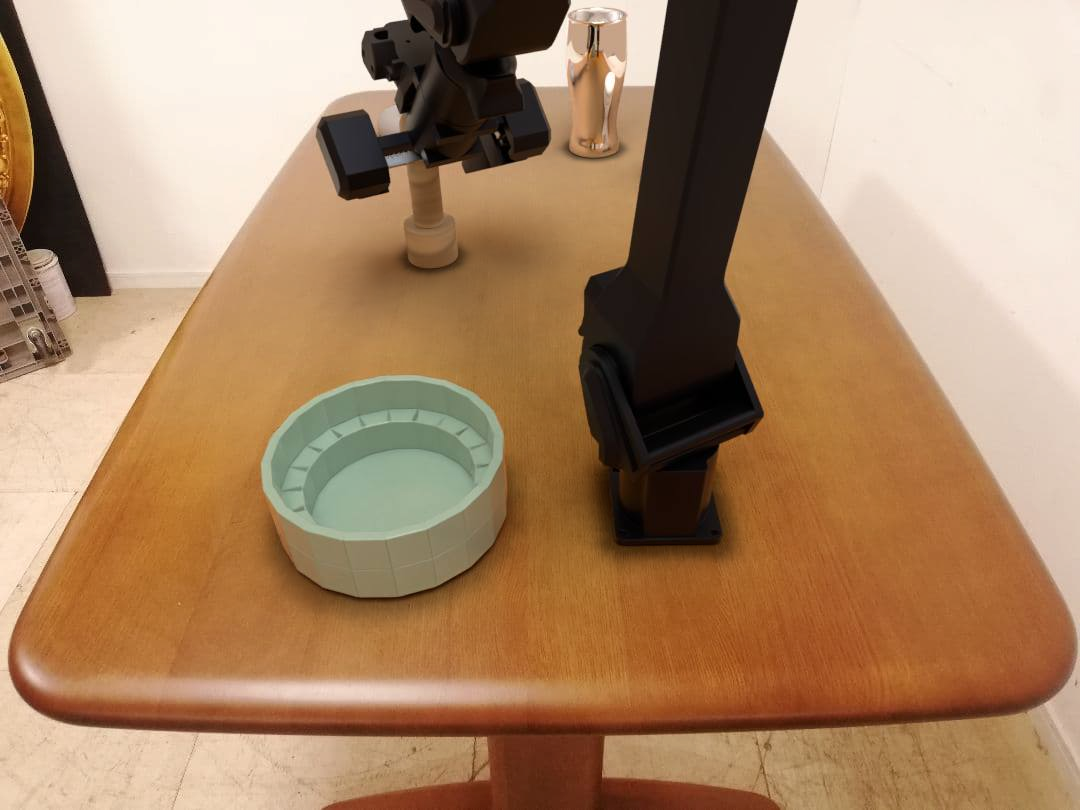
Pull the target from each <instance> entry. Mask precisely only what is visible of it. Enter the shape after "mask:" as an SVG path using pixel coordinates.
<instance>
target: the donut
mask: <svg viewBox="0 0 1080 810" xmlns="http://www.w3.org/2000/svg"><path fill="white" fill-rule="evenodd" d="M401 116H402V114H399V111H398V109H397V106H396V103H394V104H392V105H390V106H388V107H386V108H384V109H383V110H382V112H380V114H379V115H378V118H377V125H376V126H377V127H376V128H377V131H378V133H379V135H380V136H385V135H390V134H395V133H399V132H400V129H399V121H400V118H401Z"/></svg>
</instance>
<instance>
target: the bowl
mask: <svg viewBox="0 0 1080 810" xmlns="http://www.w3.org/2000/svg"><path fill="white" fill-rule="evenodd" d="M505 443H506V442H505V433H504V430H503V429H502V426H501V424H500V422H499V420H498V417H497V415H496V413H495V411H494V409H493V408H491V407H490V406H489V404H488V403H486V402H485V401H484V400H483V399H482V398H481V397H480V396H479V395H477V394H476V393H475V392H473V391H471V390H469V389H467V388H465V387H463V386H461V385H458V384H456V383H454V382H451V381H449V380H447V379H441V378H436V377H430V376H425V375H420V374H391V375H390V374H389V375H388V374H387V375H378V376H374V377H369V378H365V379H359V380H355V381H350V382H347V383H345V384H343V385H340V386H337V387H335V388H333V389H330V390H327V391H325V392H323V393H320V394H318V395H316V396H315V397H313V398H312V399H310V400H309V401H307V402H306V403H304V404H303V405H302V406H300V407H298V408H296V410H294V411H293V412H291V413H290V414H289V415H288V416H287V418H285V420H284V421H283V422H282V424H281V425H280V426H279V427H278V428H277V429H276V430H275V432H273V434H272V435H271V437H269V441H268V443H267V445H266V448H265V451H264V453H263V456H262V458H261V461H260V474H261V475H260V476H261V486H262V487H261V488H262V491H263V494H264V497H265V500H266V503H267V506H268V509H269V511H270V515H271V517H272V520H273V523H274V526H275V529H276V532H277V535H278V537H279V540H280V543H281V546H282V548H283V550H284V551H285V552H286V554H287V556H288V558H289V559H290V561H291V563H292V564H293V566H294V567H295V569H296V570H297V571H298V572H300V573H301V574H302V575H304V576H305V577H307V578H309V579H310V580H311V581H313V582H314V583H315V584H316V585H318V586H320V587H321V588H324V589H325V590H330V591H334V592H337V593H341V594H344V595H349V596H352V597H355V598H398V597H404V596H407V595H411V594H414V593H418V592H422V591H425V590H426V591H427V590H429V589H433V588H436V587H438V586H441V585H443V584H445V582H447V581H449V580H450V579H453V578H454V577H456V576H458V575H459V574H461V573H463V572H465V571H466V570H469V569H470V568H472V566H473V565H474V564H475V563H477V562H478V560H480V558H481V557H482V556H483V555H484V554H485V553H486V552H487V551H488V550H489V549H490V548H491V547H492V546H493V545H494V543H495V541H496V539H497V538H498V535H499V532H500V530H501V529H502V526H503V524H504V522H505V520H506V518H507V515H508V478H507V475H508V474H507V463H506V462H507V461H506V444H505Z"/></svg>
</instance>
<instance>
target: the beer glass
mask: <svg viewBox="0 0 1080 810" xmlns="http://www.w3.org/2000/svg"><path fill="white" fill-rule="evenodd" d="M565 36H566V37H565V71H566V80H567V87H568V93H569V98H570V106H571V113H572V114H571V115H572V122H571V123H572V125H571V132H570V136H569V142H568V149H569V151H570V152H571V153H572V154H574V155H576V156H579V157H583V158H589V159H590V158H592V159H594V158H595V159H599V158H607V157H610V156H612V155H614V154H616V153H617V152H618V151H619V149H620V142H619V134H618V133H619V132H618V112H619V106H620V101H621V97H622V93H623V87H624V83H625V78H626V70H627V64H628V63H627V62H628V47H629V45H628V44H629V43H628V42H629V41H628V14H627V12H626V11H624V10H621V9H618V8H614V7H606V6H605V7H604V6H603V7H601V6H598V7H597V6H596V7H595V6H594V7H593V6H592V7H583V8H577V9H574V10H572V11H569V12H568V13H567V26H566V35H565Z"/></svg>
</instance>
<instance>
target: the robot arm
mask: <svg viewBox="0 0 1080 810" xmlns="http://www.w3.org/2000/svg"><path fill="white" fill-rule="evenodd" d="M400 2H401V5H402V7H403V11H404V13H405V16H406V18H407V19H401V20H395V21H390V22H387V23H385V24H384V25H383V26H379V27H373V28H372V29H370V30H365V31H364V34H363V37H362V39H361V44H360V45H361V47H360V48H361V49H360V50H361V51H360V52H361V60H362V62H363V65H364V67H365V68H366V71H367V72H368V74H369V76H370V78H371V79H372V80H373V81H380V80H386V81H387V82H388V83H391V82H393V83H394V85H395V86H396V88H397V89H396V93H395V96H394V100H393V101H394V104H396V106H397V109H398V111H399V114H404V113H405V114H406V116H407V120H406V131H404V132H399V133H395V134H390V135H385V136H381V135H380V136H377V132H376V130H375V127H374V125H373V122H372V119H371V115H370V114H369V113H368V112H367V111H366V110H365V109H364V108H361V109H356V110H351V111H345V112H340V113H335V114H330V115H325V116H321V117H320V119H319V122H318V123H317V126H316V131H315V139H316V141H317V144H318V147H319V149H320V152H321V154H322V157H323V160H324V162H325V165H326V169H327V170H328V174H329V176H330V178H331V181H332V184H333V186H334V190H335V191H336V195H337V196H338V197H339V198H341V199H342V200H345V201H346V202H349V201H353V200H363V199H368V198H372V197H376V196H380V195H384V194H389V193H390V189H389V188H390V185H391V183H392V182H391V174H390V169H394V168H398V167H402V166H407V164H412V163H416V162H421V161H424V164H425V166H426V169H429V168H434V167H438V166H439V167H442V166H446V165H450V164H451V165H452V164H455V163H459V162H461V167H462V170H463V172H464V174H466V175H467V174H471V173H476V172H481V171H484V170H488V169H489V170H490V169H494V168H498V167H501V166H506V165H511V164H514V163H518V162H522V161H527V160H528V159H529V158H533V157H538V156H542V155H543V153H544V152H545V151H546V150H547V148H548V147H549V146H550V143H551V141H552V128H551V126H550V123H549V120H548V118H547V115H546V113H545V110H544V107H543V105H542V102H541V99H540V95H539V93H538V91H537V89H536V87H535V85H534V84H533V83H532V82H531V81H530V80H527V79H526V78H524V77H521V78H518V77H517V74H516V72H517V69H518V60H517V57H516V56H520V55H527V54H533V53H537V52H543V51H547V50H549V49H550V48H551V47H552V46H553V45H554V43H555V41H556V39H557V37H558V35H559V32H560V30H561V28H562V25H563V24H564V21H565V19H566V17H567V16H568V13H569V10H570V8H571V5H572V0H400ZM798 2H799V0H667V3H666V9H665V16H664V22H663V27H662V28H663V29H662V35H661V41H660V48H659V55H658V61H657V68H656V74H655V81H654V88H653V93H652V101H651V107H650V112H649V120H648V127H647V132H646V140H645V144H644V145H645V146H644V153H643V158H642V159H643V160H642V167H641V171H640V178H639V186H638V191H637V198H636V203H635V204H636V205H635V212H634V218H633V225H632V230H631V237H630V244H629V250H628V256H627V260H626V262H625V264H624V265H623V266H619V267H615V268H613V269H609V270H605V271H602V272H600V273H596V274H593V275H591V276H589V278H588V280H587V282H586V285H585V286H584V290H583V316H582V321H581V324H580V326H579V328H578V330H577V334H578V336H580V337H582V343H581V352H580V355H579V359H578V365H577V369H578V374H579V380H580V386H581V392H582V396H583V398H582V399H583V403H584V410H585V415H586V420H587V425H588V428H589V432H590V435H591V437H592V438H593V440H594V441H596V443H597V444H598V459H597V460H598V461H599V462H600V463H601V464H602V465H603V466H604V467H608V472H607V473H608V483H609V494H610V503H611V504H610V505H611V513H612V515H611V516H612V522H613V523H612V524H613V532H614V533H613V534H614V540H615V542H616V543H617V544H619V545H634V546H635V545H680V544H681V545H692V544H693V545H694V544H696V545H697V544H699V545H700V544H701V545H703V544H719V543H720V542H721V541H722V540H723V539H722V538H723V529H722V525H721V522H720V521H721V520H720V517H719V512H718V508H717V504H716V500H715V497H714V491H713V484H714V481H715V480H714V479H715V473H716V468H717V461H718V456H719V451H720V446H721V444H724V443H725V442H728V441H730V440H732V439H735V438H737V437H740V436H742V435H743V436H746V435H749V434H751V433H753V432H754V430H755V429H756V428H757V427H758V426H759V424H760V422H761V421H762V420H763V418H764V416H765V411H764V408H763V406H762V404H761V401H760V398H759V395H758V394H757V391H756V388H755V385H754V383H753V381H752V378H751V375H750V373H749V370H748V368H747V365H746V362H745V360H744V358H743V355H742V352H741V350H740V347H739V344H738V342H739V335H740V329H741V322H742V317H741V313H740V311H739V309H738V307H737V305H736V303H735V301H734V299H733V297H732V294H731V292H730V290H729V288H728V286H727V284H726V280H725V278H726V271H727V268H728V264H729V260H730V256H731V253H732V249H733V246H734V241H735V237H736V234H737V230H738V226H739V223H740V219H741V216H742V211H743V207H744V204H745V200H746V197H747V192H748V190H749V185H750V181H751V178H752V174H753V170H754V167H755V163H756V160H757V159H756V158H757V155H758V151H759V148H760V144H761V140H762V137H763V134H764V129H765V125H766V122H767V118H768V113H769V111H770V107H771V103H772V98H773V95H774V93H775V92H774V91H775V88H776V85H777V82H778V81H777V80H778V77H779V74H780V69H781V66H782V63H783V62H782V61H783V58H784V55H785V51H786V46H787V43H788V39H789V36H790V32H791V28H792V24H793V20H794V17H795V13H796V10H797V5H798ZM414 150H415V151H416V152H415V151H414ZM410 151H411V152H410ZM405 152H407V154H406V153H405Z"/></svg>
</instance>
